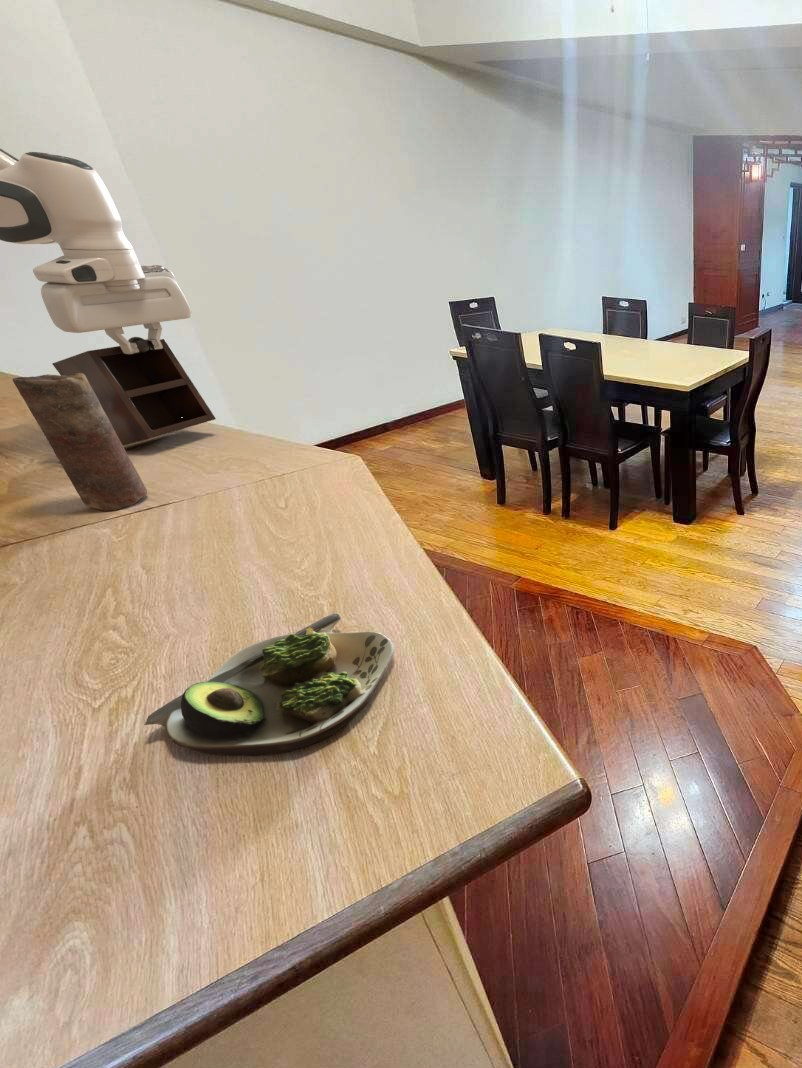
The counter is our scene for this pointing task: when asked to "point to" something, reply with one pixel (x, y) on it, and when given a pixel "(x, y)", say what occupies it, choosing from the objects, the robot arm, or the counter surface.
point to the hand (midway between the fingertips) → (143, 351)
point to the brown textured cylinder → (82, 439)
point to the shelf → (140, 390)
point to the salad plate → (280, 693)
